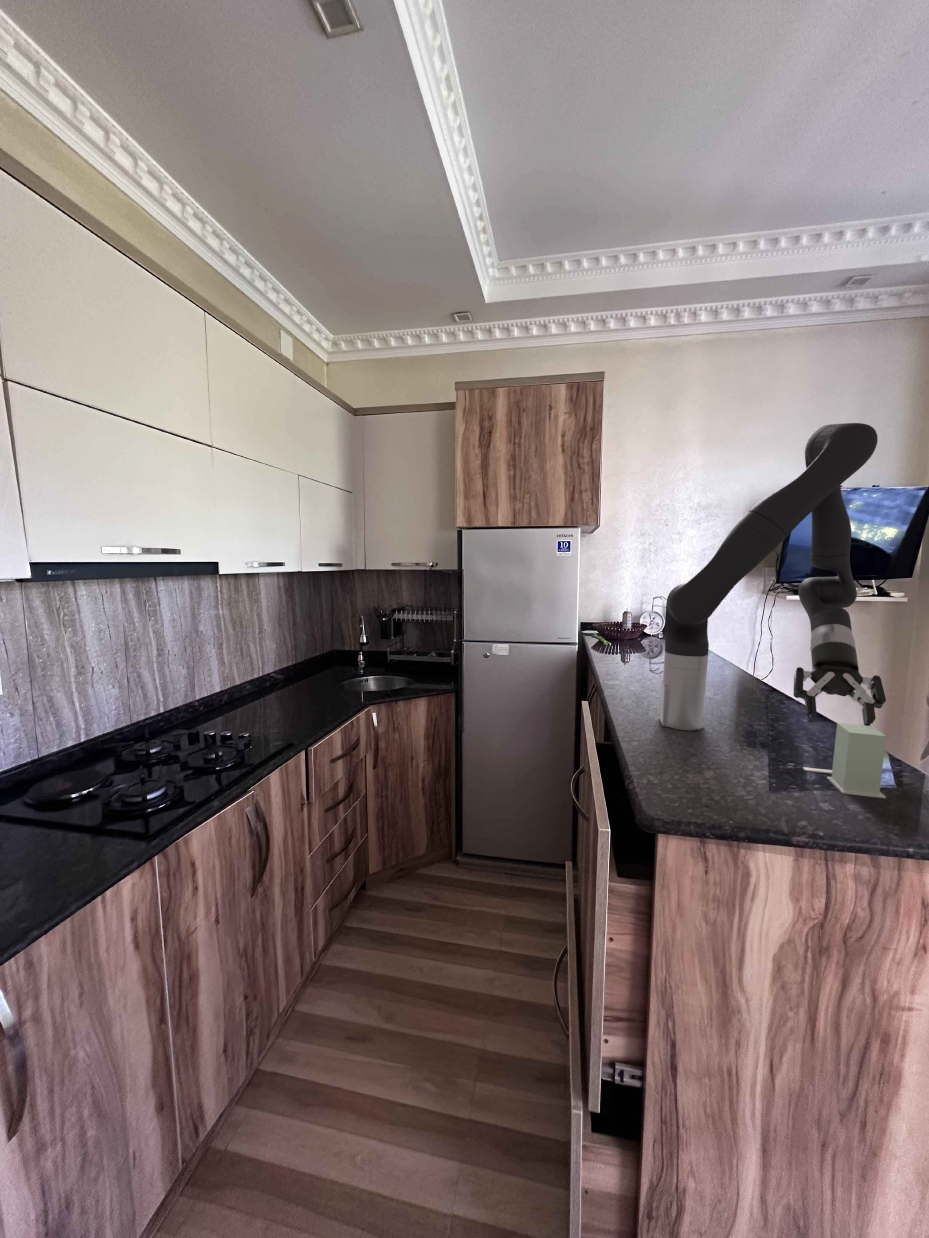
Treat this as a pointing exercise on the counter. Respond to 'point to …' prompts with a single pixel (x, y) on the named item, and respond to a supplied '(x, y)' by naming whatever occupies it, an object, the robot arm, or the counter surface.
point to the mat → (854, 791)
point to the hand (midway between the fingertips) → (840, 720)
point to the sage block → (858, 758)
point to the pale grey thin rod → (819, 770)
